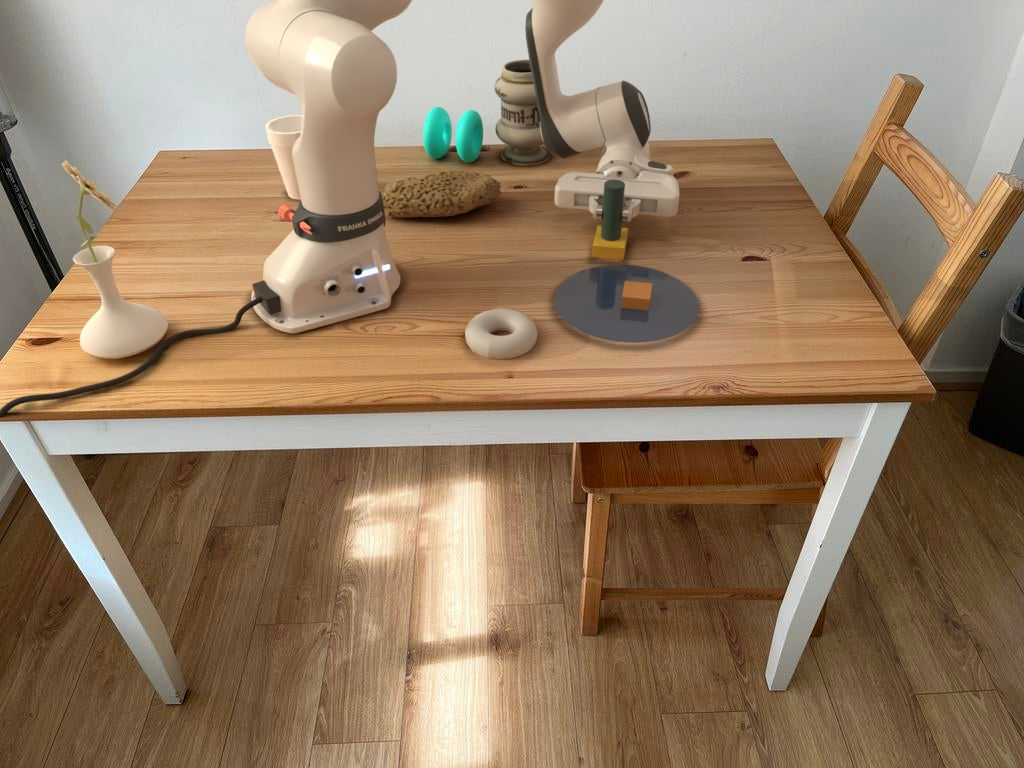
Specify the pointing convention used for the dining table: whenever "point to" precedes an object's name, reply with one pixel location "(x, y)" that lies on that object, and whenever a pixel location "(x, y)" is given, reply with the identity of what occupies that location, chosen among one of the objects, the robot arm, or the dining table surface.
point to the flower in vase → (112, 296)
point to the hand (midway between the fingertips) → (612, 216)
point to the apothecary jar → (519, 116)
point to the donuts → (441, 132)
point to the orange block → (636, 295)
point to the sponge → (440, 194)
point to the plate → (598, 311)
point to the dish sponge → (611, 223)
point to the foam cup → (285, 148)
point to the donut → (501, 345)
